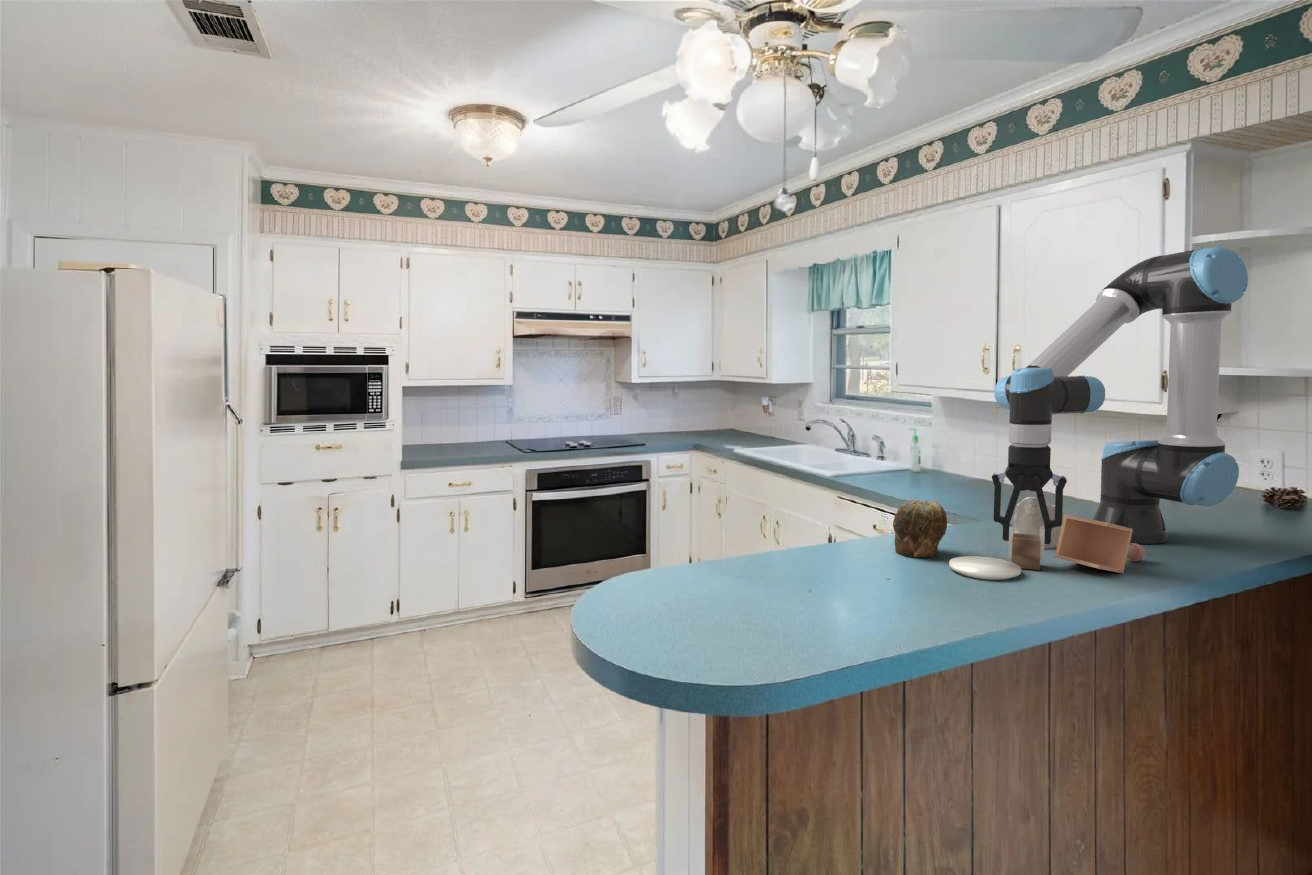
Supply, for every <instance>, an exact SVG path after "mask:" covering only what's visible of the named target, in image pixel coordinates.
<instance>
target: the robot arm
mask: <svg viewBox="0 0 1312 875" xmlns="http://www.w3.org/2000/svg"><path fill="white" fill-rule="evenodd" d="M1248 283H1249V273H1248V269H1247V266H1246V263H1245V261H1244V259H1243V258H1242V257H1240V255H1239V253H1237V252H1236V251H1234V250H1232V249H1231V248H1229V247H1226V246H1225V247H1224V246H1215V247H1203V248H1202V247H1201V248H1196V249H1192V250H1186V251H1181V252H1174V253H1170V254H1164V255H1163V254H1162V255H1157V256H1152V257H1149V258H1147V259H1144V260H1143V261H1140V262H1138V263H1137V264H1135V265H1133V266H1131V267H1130V268H1127V270H1126V271H1124V272H1122V273H1121V274H1119V275H1118V276H1117V277H1116V278H1114V279H1113V280H1112V281H1111V282H1110V283H1108V284H1107V285H1106V286H1105V287H1104V288H1102V290H1101V291H1099V292H1098V294H1097V296H1096V299H1095V303H1093V304H1092V305H1091V306H1090V307H1089V308H1088V309H1087V310H1086V311H1085V312H1084V313H1083V314H1082V315H1080V316H1079V317H1078V318H1077V319H1075V321H1074V322H1073V323H1072V324H1071V325H1070V326H1069V327H1067V329H1065V330H1064V331H1063V332H1062V333H1060V335H1059V336H1058V337H1057V338H1056V339H1055V340H1054V341H1053V342H1051V344H1049V345H1048V346H1047V347H1046V348H1045V349H1044V350H1043V351H1041V353H1039V355H1038V356H1037V357H1035V358H1034V359H1033V360H1032V361H1031V362H1030V363H1029V364H1028V365H1027V366H1025V367H1018V368H1014V369H1013V370H1012V372H1011V375H1008V376H1004V377H1002V378H1000V379H999V380H998V381H997V382H996V385H995V386H994V392H993V395H994V398H995V401H996V403H997V404H998V405H999V406H1000V407H1001V408H1004V409H1008V410H1009V420H1008V421H1009V423H1008V442H1009V443H1010V445H1009V446H1008V450H1007V452H1008V453H1007V467H1006V468H1005V471H1002V472H999V473H998V472H993V473H992V474H991V480H992V482H993V485H994V493H993V497H994V498H993V516H992V517H993V522H996V523H999V524H1000V525H1001V526H1002V540H1003V541H1004V542H1008V553H1007V554H1008V555H1007V556H1008V557H1007V558H1008V559H1011V558H1012V537H1013V533H1014V524H1013V523H1011V521H1012V518H1013V516H1014V515H1013V514H1014V512H1015V510H1016V506H1017V504H1018V503H1017V502H1018V499H1019V496H1020V493H1021V492H1023V491H1024V492H1025V491H1030V492H1035V494H1036V498H1038V502H1039V506H1040V510H1041V514H1042V518H1043V522H1044V527H1043V526H1040V540H1041V546H1040V562H1044V560H1045V549H1044V544H1050V543H1051V530H1052V528H1054V527H1060V526H1061V525H1062V512H1063V506H1064V488H1065V486H1066V484H1067V483H1068V480H1067V478H1066V476H1064V475H1061V476H1060V475H1058V474H1055V473H1053V471H1052V469H1051V455H1052V454H1051V453H1052V452H1051V447H1050V445H1049V444H1051V443H1052V427H1053V426H1052V425H1053V423H1052V422H1053V415H1055V414H1061V415H1062V414H1063V415H1064V414H1065V415H1066V414H1081V415H1082V414H1085V413H1092V412H1095V411H1096V412H1097V411H1098V410H1099V409H1100V408H1101V407H1102V406H1103V405H1104V402H1105V400H1106V387H1105V386H1104V384H1103V382H1102V380H1100V379H1099V378H1097V377H1095V376H1090V375H1089V376H1087V375H1084V374H1083V375H1075V376H1074V375H1071V374H1072V373H1073V372H1074V371H1075V370H1076V369H1077V368H1078V367H1080V365H1081V364H1083V363H1084V362H1085V361H1086V360H1087V359H1088V358H1089V357H1090V356H1092V354H1093V353H1095V351H1097V350H1098V349H1099V348H1100V347H1101V346H1102V345H1103V344H1104V343H1105V342H1106V341H1107V340H1108V339H1109V338H1110V337H1111V336H1112V335H1114V334H1115V333H1116V332H1117V331H1118V330H1120V328H1121V327H1122V326H1123V325H1124V324H1130V323H1132V322H1134V321H1135V320H1137V319H1138V318H1139V317H1140V316H1141V315H1144V314H1145V313H1147V312H1151V311H1155V310H1162V312H1161V316H1162V318H1163V319H1165V321H1167V322H1168V323H1169V324H1170V325H1169V326H1170V328H1169V350H1168V351H1169V353H1168V354H1169V356H1168V360H1169V361H1168V377H1167V378H1168V379H1167V380H1168V383H1167V384H1168V385H1167V386H1168V387H1167V408H1166V409H1167V410H1166V412H1167V413H1166V433H1165V435H1163V436H1162V437H1161V438H1160V439H1149V440H1148V439H1146V440H1126V441H1125V440H1123V441H1110V442H1107V443H1106V444H1105V445H1104V446H1103V448H1102V450H1103V451H1102V457H1101V458H1100V459H1101V460H1100V461H1101V469H1100V480H1101V481H1100V499H1099V500H1100V502H1099V505H1098V507H1097V509H1096V511H1095V513H1094V515H1093V519H1092V520H1096V521H1101V522H1106V523H1111V524H1115V525H1119V526H1123V527H1127V528H1131V529H1133V531H1132V536H1131V540H1130V543H1136V544H1139V545H1140V544H1142V545H1146V544H1147V545H1150V544H1151V545H1152V544H1162V543H1166V542H1167V541H1168V530H1167V528H1166V524H1165V521H1164V517H1163V515H1162V511H1161V508H1160V502H1161V501H1160V500H1164V501H1165V500H1166V501H1172V502H1176V503H1180V504H1182V503H1183V504H1185V505H1188V506H1201V507H1212V506H1213V507H1214V506H1216V505H1218V504H1221V503H1222V502H1224V501H1225V500H1226V499H1227V498H1228V497H1229V496H1230V495H1231V494H1232V493H1233V491H1234V490H1235V487H1236V486H1237V483H1238V481H1239V475H1240V468H1239V464H1238V462H1237V460H1236V459H1235V457H1234V456H1232V455H1231V454H1229V453H1227V452H1226V442H1225V441H1224V440H1222V439H1221V438H1220V437H1219V436H1218V434H1217V431H1218V429H1217V426H1218V410H1219V409H1218V408H1219V385H1220V383H1219V382H1220V365H1221V364H1220V363H1221V362H1220V361H1221V359H1220V358H1221V340H1222V339H1221V338H1222V322H1223V320H1224V319H1226V317H1228V316H1229V315H1230V314H1231V313H1232V306H1233V305H1232V304H1233V303H1235V302H1237V301H1239V300H1241V298H1242V297H1243V296H1244V294H1245V293H1244V292H1246V291H1247V289H1248V285H1249V284H1248ZM1069 375H1071V376H1069ZM1005 478H1007V479H1008V480H1009V481H1010V483H1011V484H1012V486H1013V489H1012V493H1011V495H1010V498H1009V501H1008V505H1007V508H1006V509H1005V510H1006V511H1005V514H1004V516H1002V515H1001V508H1002V507H1001V506H1002V504H1001V502H1002V484H1003V483H1004V482H1005ZM1050 480H1052V484H1053V485H1054V487H1055V491H1054V492H1055V494H1054V505H1055V520H1050V517H1049V514H1048V510H1047V506H1046V502H1045V501H1046V499H1045V495H1044V491H1043V488H1044V487H1045V486H1046V485H1047V483H1049V481H1050Z"/></svg>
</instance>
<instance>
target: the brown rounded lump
mask: <svg viewBox="0 0 1312 875" xmlns="http://www.w3.org/2000/svg"><path fill="white" fill-rule="evenodd" d="M947 519H948V518H947V513H946V511H945V508H944V507H943V506H942V505H941V504H940V503H938V502H937V501H932V500H930V501H929V500H924V501H922V500H919V499H916V500H914V499H913V500H908V501H905V502H903V503H901V505H900V506H899V507H898V509H897V512H895V515H894V517H893V523H892V526H893V532H894V550H895V553H897V554H899V555H902V556H904V557H909V558H933V557H934V556H936V554H937V553H938V549H939V548H938V547H939V544H940V542H941V540H942V538H943V537H944V536H945V535H946V531H947V529H948V520H947Z"/></svg>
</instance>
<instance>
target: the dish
mask: <svg viewBox="0 0 1312 875" xmlns="http://www.w3.org/2000/svg"><path fill="white" fill-rule="evenodd" d="M948 562H949V563H948V565H949V568H950V569H951V570H952V571H954V572H956V573H958V574H960V575H962V576H966V577H968V578H974V579H979V580H980V579H981V580H990V581H1002V580H1004V581H1005V580H1010V579H1013V578H1015V577H1019V576H1020V575H1021V573H1022V568H1021V567H1020V566H1019V565H1017V564H1015V563H1013V562H1011V560H1010V561H1009V560H1006V559H1002V558H996V557H990V556H978V555H977V556H976V555H966V556H965V555H964V556H957V557H953V558H950V559H949V561H948Z"/></svg>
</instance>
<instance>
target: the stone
mask: <svg viewBox="0 0 1312 875" xmlns="http://www.w3.org/2000/svg"><path fill="white" fill-rule="evenodd" d="M1045 502H1046V506H1047V510H1048V514H1049V517H1050V520H1055V504H1051V502H1050V501H1047V500H1045ZM1014 512H1015V513H1014V515H1013V516H1014V517H1013V522H1014V524H1013V527H1014V533H1019V534H1033V535H1039V536H1040V526H1043V527H1044V522H1043V518H1042V514H1041V510H1040V506H1039V502H1038V498H1037V496H1036V497H1035V496H1027V497H1024V498H1023V499H1022V500H1020V501H1019V502H1018V503H1016V506H1015V510H1014ZM1063 517H1064V513H1063V511H1062V522H1063ZM1061 527H1062V525H1061V526H1060V527H1054V528H1052V530H1051V543H1050V544H1044V550H1045V549H1057V545H1058V540H1059V536H1060V531H1061Z"/></svg>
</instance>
